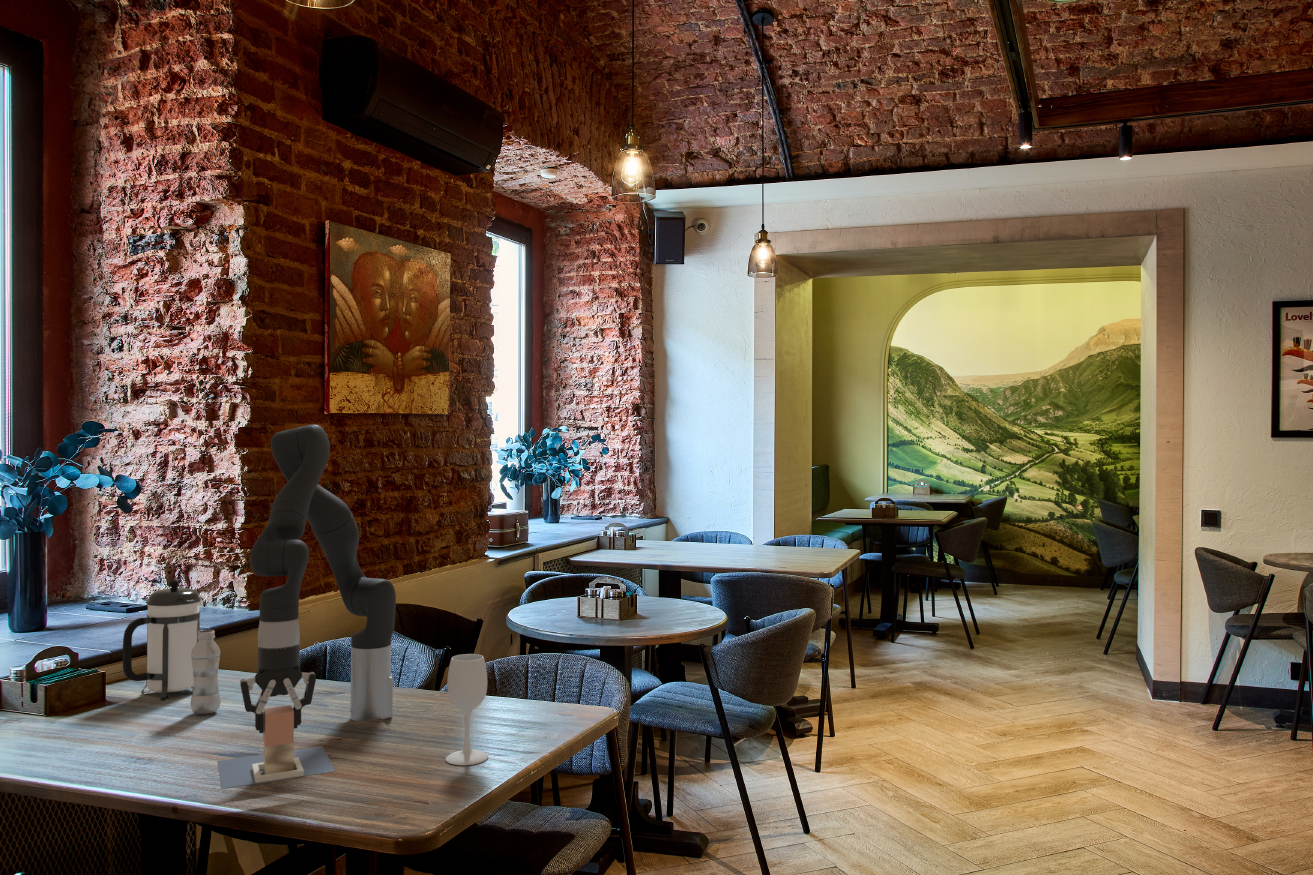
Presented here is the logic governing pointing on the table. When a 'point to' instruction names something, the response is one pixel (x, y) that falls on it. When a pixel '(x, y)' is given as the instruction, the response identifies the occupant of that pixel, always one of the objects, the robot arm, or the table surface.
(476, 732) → the table surface
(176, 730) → the table surface
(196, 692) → the plastic bottle
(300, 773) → the grey board
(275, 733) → the terracotta block
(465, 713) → the wineglass
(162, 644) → the coffee press
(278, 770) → the birch block
